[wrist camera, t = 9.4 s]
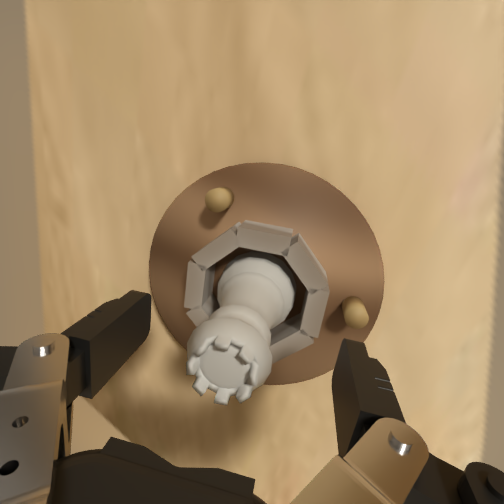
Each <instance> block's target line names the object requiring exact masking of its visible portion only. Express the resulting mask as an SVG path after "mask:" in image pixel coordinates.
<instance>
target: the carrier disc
mask: <svg viewBox="0 0 504 504" xmlns="http://www.w3.org/2000/svg"><path fill="white" fill-rule="evenodd" d="M251 251H255V252H265V253H269V254H271V255H273V256H275V257H277V258H279V259H281V260H282V261H283V262H284V263H285V264H286V266H287V267H288V268H289V269H290V270H291V271H292V274H293V277H294V280H295V283H296V295H295V301H294V302H293V307H292V309H291V311H290V312H289V314H288V316H287V317H286V319H285V320H284V321H283V322H281V323H280V324H278V325H277V326H275V327H274V328H273V329H270V332H271V343H270V347H269V349H270V352H271V354H272V367H271V373H270V374H269V376H268V378H267V379H266V381H265V382H264V384H265V385H284V384H291V383H298V382H302V381H306V380H310V379H312V378H315V377H318V376H320V375H323V374H325V373H327V372H329V371H330V370H332V369H334V367H335V364H336V360H337V357H338V353H339V350H340V346H341V343H342V340H343V339H344V338H345V339H350V340H354V341H359V342H364V341H365V340H366V338H367V337H368V335H369V333H370V331H371V330H372V328H373V326H374V324H375V322H376V319H377V317H378V314H379V312H380V308H381V304H382V299H383V292H384V268H383V262H382V257H381V253H380V249H379V246H378V244H377V241H376V238H375V236H374V233H373V232H372V230H371V228H370V226H369V224H368V223H367V221H366V219H365V218H364V217H363V215H362V214H361V213H360V211H359V210H358V209H357V207H356V206H355V205H354V204H353V203H352V202H351V201H350V200H349V199H348V198H347V197H346V196H345V195H344V194H343V193H342V192H340V191H339V190H338V189H336V188H335V187H334V186H332V185H331V184H330V183H328V182H327V181H325V180H323V179H321V178H320V177H318V176H316V175H314V174H312V173H309V172H307V171H304V170H301V169H299V168H295V167H291V166H287V165H282V164H273V163H245V164H240V165H234V166H229V167H226V168H223V169H220V170H217V171H214V172H212V173H210V174H208V175H206V176H204V177H202V178H200V179H199V180H197V181H196V182H194V183H193V184H192V185H190V186H189V187H187V188H186V189H185V190H184V191H183V192H182V193H181V194H180V195H179V196H178V197H177V198H176V199H175V200H174V201H173V202H172V204H171V205H170V206H169V207H168V209H167V210H166V212H165V214H164V215H163V217H162V219H161V220H160V222H159V225H158V227H157V229H156V232H155V234H154V238H153V242H152V246H151V251H150V260H149V276H150V283H151V289H152V293H153V297H154V300H155V303H156V306H157V308H158V311H159V313H160V315H161V317H162V319H163V321H164V322H165V324H166V326H167V328H168V329H169V330H170V332H171V333H172V335H173V336H174V337H175V338H176V340H177V341H178V342H179V343H180V344H181V345H182V346H183V347H184V348H185V349H186V350H187V342H188V340H189V338H190V336H191V334H192V332H193V330H194V329H195V328H197V327H198V326H199V325H201V324H202V323H203V322H204V321H207V320H209V317H210V315H211V314H212V313H214V312H215V311H216V310H217V309H219V308H220V305H219V302H218V300H217V298H218V282H219V280H220V277H221V275H222V273H223V271H224V270H225V268H226V266H227V264H228V263H229V262H231V261H232V260H233V259H234V258H235V257H237V256H238V255H241V254H244V253H248V252H251Z"/></svg>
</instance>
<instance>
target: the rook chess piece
mask: <svg viewBox="0 0 504 504" xmlns="http://www.w3.org/2000/svg"><path fill="white" fill-rule="evenodd" d="M295 295H296V283H295V280H294V277H293V274H292V271H291V270H290V269H289V268H288V267H287V266H286V264H285V263H284V262H283V261H282V260H281V259H279V258H277V257H275V256H273V255H271V254H269V253H265V252H255V251H251V252H248V253H244V254H241V255H238V256H237V257H235V258H234V259H233V260H232V261H231V262H229V263H228V264H227V266H226V268H225V270H224V271H223V273H222V275H221V277H220V280H219V282H218V298H217V300H218V302H219V305H220V308H219V309H217V310H216V311H215V312H214V313H212V314H211V315H210V317H209V320H207V321H204V322H203V323H202V324H201V325H199V326H198V327H197V328H195V329H194V330H193V332H192V334H191V336H190V338H189V340H188V342H187V358H188V361H187V363H186V370H187V375H194V374H195V376H196V380H195V382H194V383H193V385H192V387H193V388H194V389H195V390H196V391H197V392H198V393H199V395H200V396H202V395H203V394H204V393H205V392H206V390H207V388H208V389H210V390H212V391H213V392H215V393H217V394H216V396H215V400H214V403H216V404H221V405H226V406H227V405H228V402H229V399H230V396H234V395H236V398H237V400H238V401H239V403H242V402H244V401H245V400H247V399H248V398H250V397H251V393H252V391H253V390H255V389H256V388H258V387H260V386H261V385H263V384H264V382H265V381H266V379H267V378H268V376H269V374H270V373H271V367H272V354H271V352H270V349H269V347H270V343H271V332H270V329H273V328H274V327H275V326H277V325H278V324H280V323H281V322H283V321H284V320H285V319H286V317H287V316H288V314H289V312H290V311H291V309H292V307H293V302H294V301H295Z"/></svg>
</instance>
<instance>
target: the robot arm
mask: <svg viewBox="0 0 504 504" xmlns="http://www.w3.org/2000/svg"><path fill="white" fill-rule="evenodd" d="M150 321H151V295H150V294H148V293H143V292H139V291H135V290H131V291H129V292H128V293H127V294H125V295H124V296H123V297H121V298H120V299H114V300H111V301H109V302H106V303H104V304H102V305H101V306H99V307H98V308H97V309H95V311H92V312H91V313H89V314H88V315H87V317H86V316H85V317H84V318H82V319H81V320H79V321H78V322H76V323H75V324H74V325H72V326H71V327H69V328H68V329H66V330H65V331H64V332H62V333H61V334H57V333H48V334H42V335H38V336H35V337H32V338H30V339H28V340H26V341H24V342H23V343H21V345H19V346H18V347H12V346H10V347H9V346H0V504H266V503H265V502H264V501H263V500H262V499H260V498H259V497H257V496H256V495H254V494H253V489H254V483H255V479H253V478H249V477H246V476H242V475H239V474H236V473H232V472H229V471H226V470H222V469H219V468H181V467H176V466H174V465H172V464H170V463H169V462H167V461H166V460H164V459H163V458H161V457H160V456H158V455H157V454H155V453H154V452H152V451H151V450H149V449H148V448H146V447H144V446H141V445H137V444H134V443H131V442H127V441H124V440H120V439H117V438H113V437H111V438H110V439H109V440H108V442H107V443H106V445H105V446H104V447H103V449H95V450H88V451H83V452H78V453H75V454H72V455H70V451H71V435H72V419H73V401H74V400H75V399H76V398H77V396H78V395H79V396H83V397H86V398H90V399H92V398H93V397H94V396H95V395H96V394H97V393H98V391H99V390H100V389H101V388H102V387H103V386H104V385H105V384H106V383H107V382H108V380H109V379H110V378H111V377H112V376H113V375H114V374H115V373H116V372H117V371H118V369H119V368H120V367H121V366H122V365H123V364H124V363H125V362H126V361H127V360H128V358H129V357H130V356H131V355H132V354H133V353H134V352H135V351H136V350H137V349H138V347H139V346H140V345H141V344H142V343H143V342H144V341H145V339H146V338H147V336H148V333H149V330H150ZM332 394H333V404H334V413H335V423H336V432H337V442H338V451H339V454H338V455H336V456H335V457H333V458H332V459H331V460H330V462H329V463H328V464H327V465H326V466H325V467H324V468H323V469H322V470H321V471H320V472H319V473H318V474H317V475H316V476H315V478H314V479H313V480H312V481H311V482H310V483H309V484H308V485H307V486H306V487H305V488H304V489H303V490H302V491H301V492H300V493H299V495H298V496H297V497H296V498H295V499H294V500H293V501H292V502H291V503H290V504H504V473H503V472H502V471H500V470H498V469H497V468H495V467H493V466H491V465H488V464H485V463H481V462H472V463H469V464H468V465H467V467H466V468H465V470H464V471H462V470H460V469H458V468H456V467H454V466H452V465H450V464H448V463H447V462H445V461H443V460H441V459H439V458H437V457H435V456H434V455H432V454H431V453H429V451H428V447H427V445H426V443H425V441H424V440H423V438H422V437H421V436H420V435H419V434H418V433H417V432H416V431H415V430H414V429H413V428H411V427H410V426H409V425H407V424H406V422H405V420H404V417H403V414H402V412H401V409H400V406H399V403H398V401H397V398H396V395H395V393H394V392H393V387H392V385H391V383H390V379H389V377H388V374H387V371H386V369H385V368H384V367H383V366H382V365H381V363H380V362H379V361H378V360H377V359H374V358H370V357H369V356H368V353H367V350H366V347H365V344H364V343H363V342H359V341H354V340H350V339H345V338H344V339H343V340H342V343H341V346H340V350H339V353H338V357H337V360H336V364H335V367H334V371H333V376H332Z"/></svg>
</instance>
